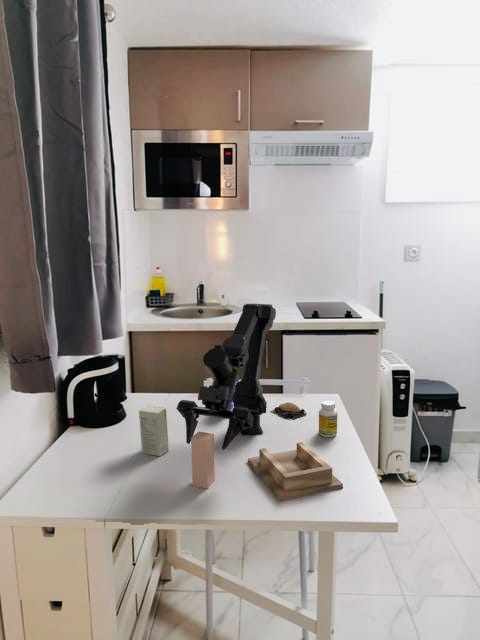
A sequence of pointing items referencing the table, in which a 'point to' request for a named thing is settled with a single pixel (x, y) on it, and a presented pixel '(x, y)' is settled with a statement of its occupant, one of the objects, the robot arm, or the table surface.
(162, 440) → the skincare box
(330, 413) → the supplement bottle
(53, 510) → the table surface
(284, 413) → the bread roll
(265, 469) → the rack
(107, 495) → the table surface
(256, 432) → the robot arm
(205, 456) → the clay block
